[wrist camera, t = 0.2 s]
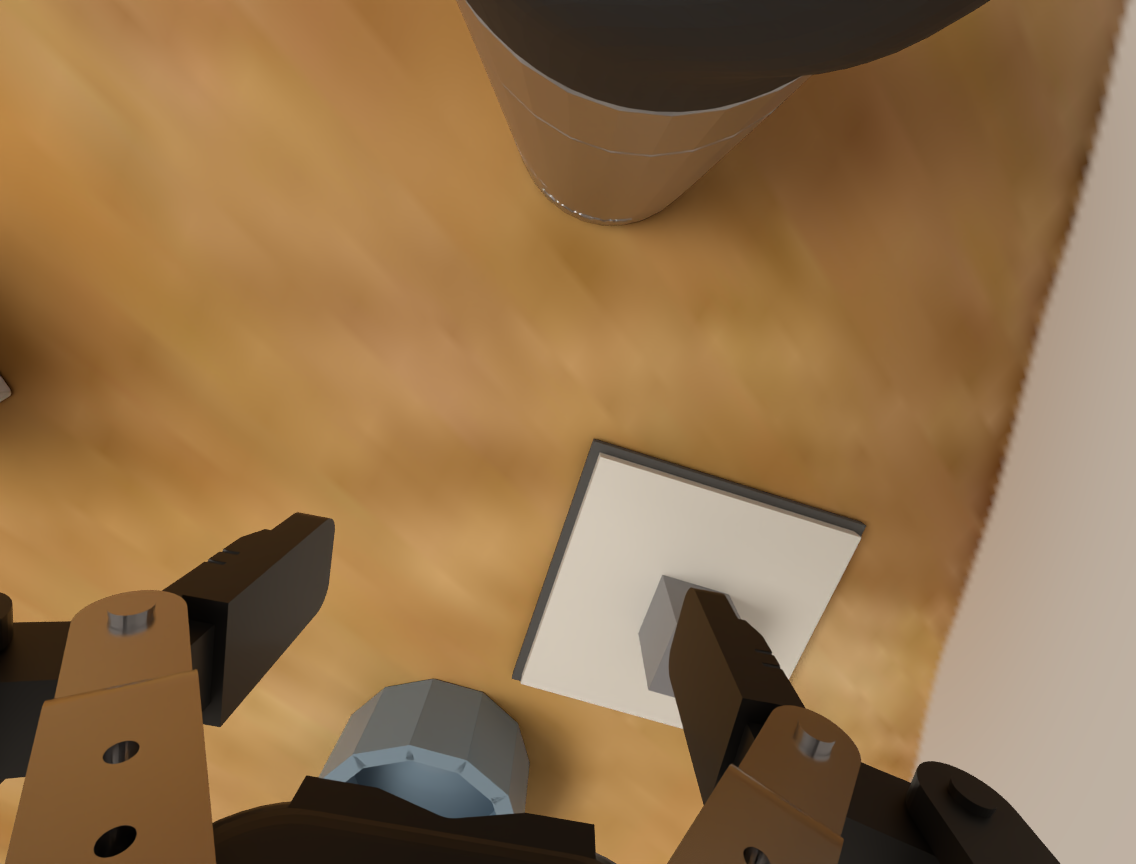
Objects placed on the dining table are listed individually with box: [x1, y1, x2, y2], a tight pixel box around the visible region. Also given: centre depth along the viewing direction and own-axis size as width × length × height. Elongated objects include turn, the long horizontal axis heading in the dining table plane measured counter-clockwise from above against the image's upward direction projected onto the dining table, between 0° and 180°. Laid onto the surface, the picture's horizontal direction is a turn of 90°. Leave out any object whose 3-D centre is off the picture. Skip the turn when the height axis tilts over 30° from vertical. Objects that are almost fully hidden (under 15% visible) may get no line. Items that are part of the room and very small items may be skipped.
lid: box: [521, 452, 861, 729], centre depth 28 cm, size 15×15×5 cm
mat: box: [512, 439, 866, 681], centre depth 31 cm, size 16×16×1 cm
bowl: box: [318, 679, 530, 818], centre depth 32 cm, size 12×12×5 cm
